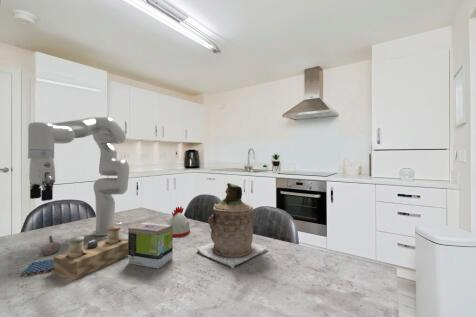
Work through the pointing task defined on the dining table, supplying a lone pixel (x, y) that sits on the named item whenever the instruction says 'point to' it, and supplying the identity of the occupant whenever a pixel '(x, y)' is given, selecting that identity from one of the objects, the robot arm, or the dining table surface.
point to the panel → (90, 259)
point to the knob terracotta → (113, 235)
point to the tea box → (150, 244)
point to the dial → (92, 244)
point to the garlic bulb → (50, 247)
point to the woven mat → (39, 268)
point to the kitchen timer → (179, 223)
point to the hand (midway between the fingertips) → (41, 199)
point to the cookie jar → (231, 230)
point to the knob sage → (75, 247)
